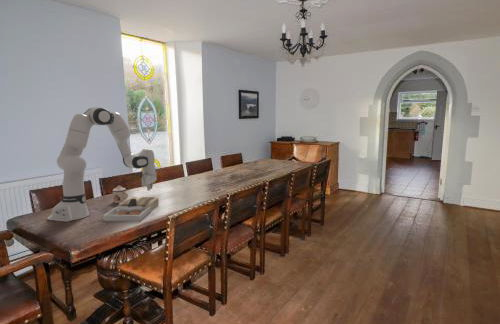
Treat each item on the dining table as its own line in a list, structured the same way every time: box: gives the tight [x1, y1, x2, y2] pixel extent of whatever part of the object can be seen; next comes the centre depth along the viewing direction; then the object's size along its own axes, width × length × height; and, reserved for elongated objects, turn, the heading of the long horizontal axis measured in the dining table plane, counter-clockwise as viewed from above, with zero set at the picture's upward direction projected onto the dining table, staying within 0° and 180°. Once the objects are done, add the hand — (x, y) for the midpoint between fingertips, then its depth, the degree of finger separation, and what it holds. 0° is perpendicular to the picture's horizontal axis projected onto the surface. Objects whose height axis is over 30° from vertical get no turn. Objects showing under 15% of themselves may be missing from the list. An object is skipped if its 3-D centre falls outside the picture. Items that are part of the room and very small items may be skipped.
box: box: [102, 206, 152, 222], centre depth 182 cm, size 22×17×4 cm
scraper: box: [115, 199, 143, 212], centre depth 186 cm, size 16×3×10 cm
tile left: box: [118, 212, 129, 215], centre depth 185 cm, size 5×5×2 cm
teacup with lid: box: [112, 185, 129, 204], centre depth 212 cm, size 12×9×12 cm
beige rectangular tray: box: [118, 196, 160, 211], centre depth 199 cm, size 20×17×5 cm
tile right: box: [130, 212, 141, 215], centre depth 183 cm, size 5×5×2 cm
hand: (149, 189), depth 217 cm, fingers open, 3 cm apart
